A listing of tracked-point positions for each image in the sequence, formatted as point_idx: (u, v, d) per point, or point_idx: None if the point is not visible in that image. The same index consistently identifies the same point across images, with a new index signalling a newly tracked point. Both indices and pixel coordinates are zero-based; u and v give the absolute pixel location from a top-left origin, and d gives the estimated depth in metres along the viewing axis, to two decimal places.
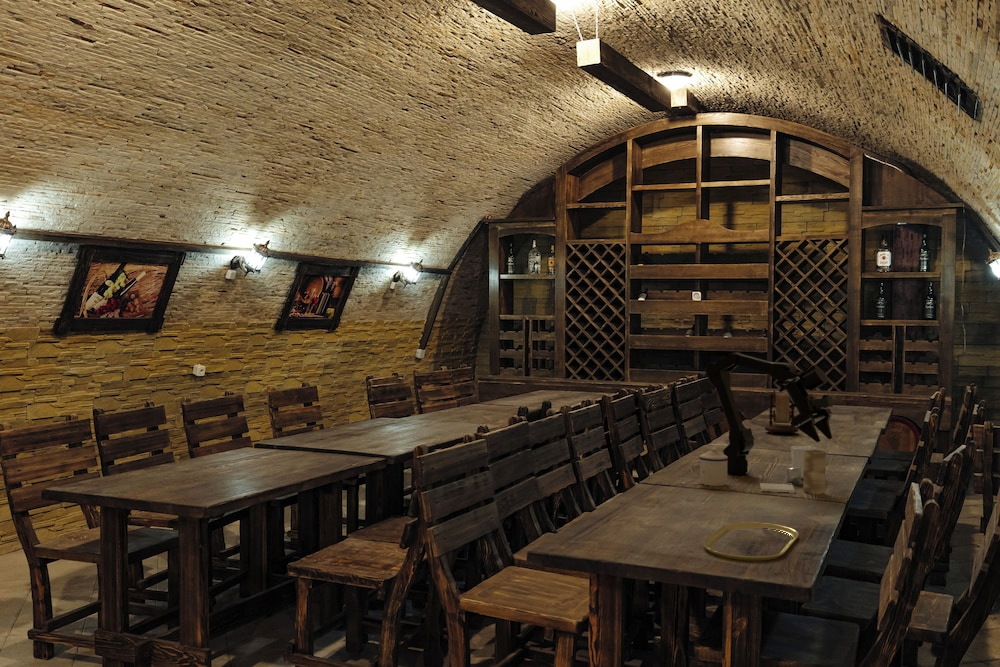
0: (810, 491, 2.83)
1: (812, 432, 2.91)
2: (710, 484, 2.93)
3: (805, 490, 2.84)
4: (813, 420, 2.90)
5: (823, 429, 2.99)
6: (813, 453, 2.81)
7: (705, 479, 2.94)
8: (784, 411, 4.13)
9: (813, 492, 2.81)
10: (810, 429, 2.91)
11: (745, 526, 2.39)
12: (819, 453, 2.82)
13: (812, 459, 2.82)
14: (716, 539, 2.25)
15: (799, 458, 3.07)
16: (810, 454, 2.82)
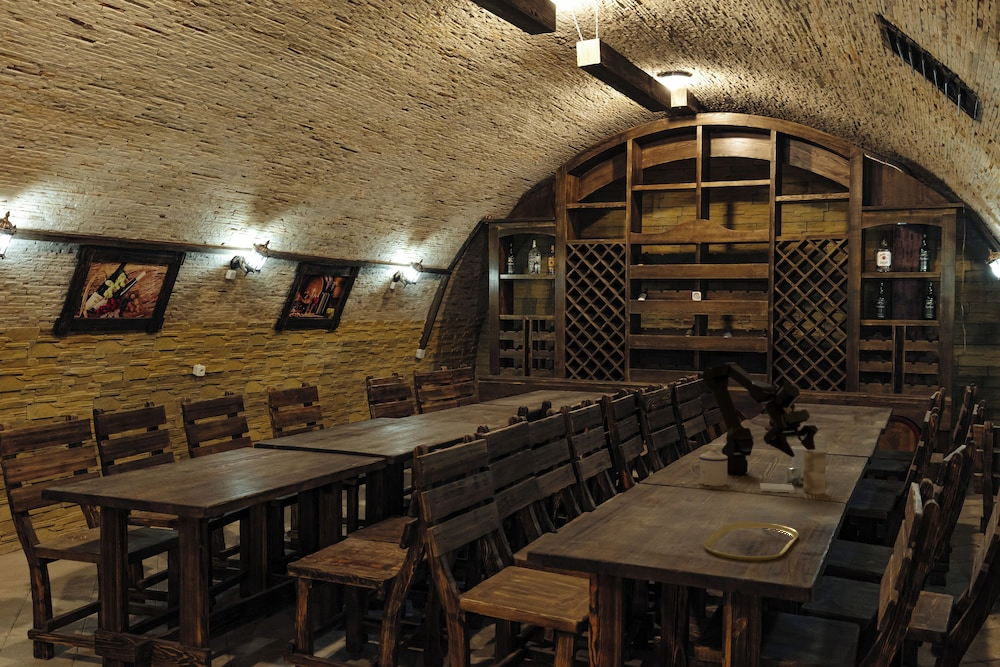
0: (810, 491, 2.83)
1: (785, 447, 2.87)
2: (710, 484, 2.93)
3: (805, 490, 2.84)
4: (783, 435, 2.87)
5: (808, 446, 2.93)
6: (813, 453, 2.81)
7: (705, 479, 2.94)
8: None
9: (813, 492, 2.81)
10: (783, 445, 2.88)
11: (745, 526, 2.39)
12: (819, 453, 2.82)
13: (812, 459, 2.82)
14: (716, 539, 2.25)
15: (799, 458, 3.07)
16: (810, 454, 2.82)
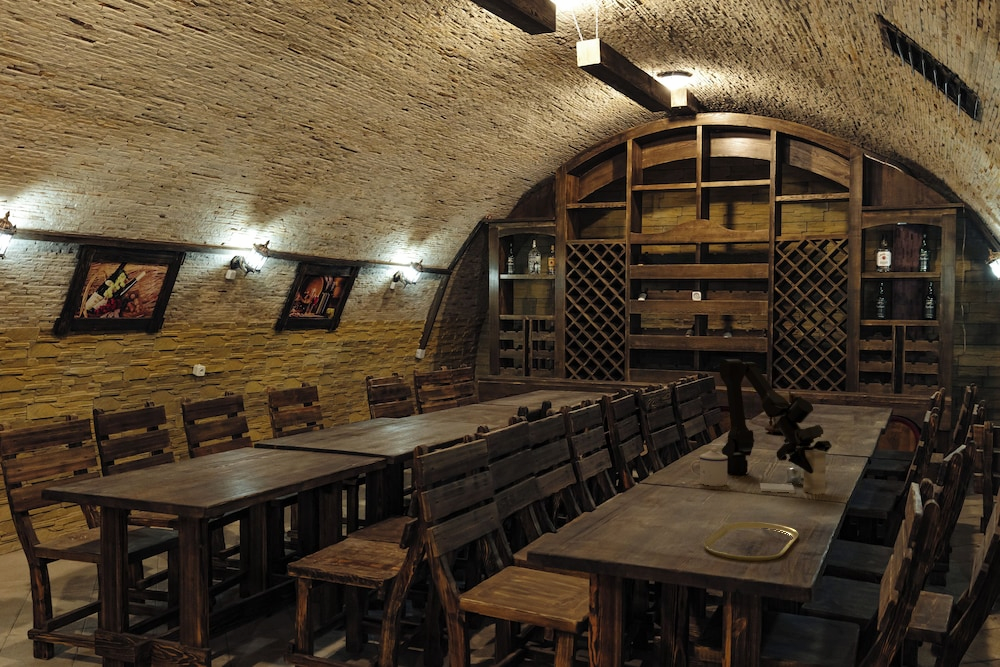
0: (810, 491, 2.83)
1: (804, 463, 2.83)
2: (710, 484, 2.93)
3: (805, 490, 2.84)
4: (802, 451, 2.83)
5: None
6: (813, 453, 2.81)
7: (705, 479, 2.94)
8: None
9: (813, 492, 2.81)
10: (802, 461, 2.84)
11: (745, 526, 2.39)
12: (819, 453, 2.82)
13: (812, 459, 2.82)
14: (716, 539, 2.25)
15: None
16: (810, 454, 2.82)
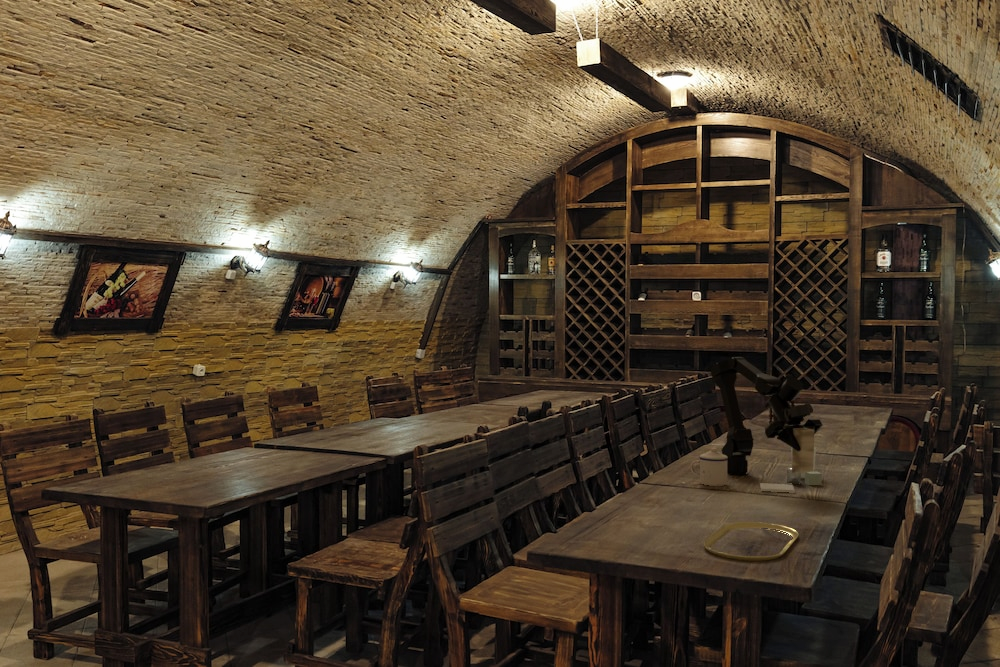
0: (798, 469, 2.84)
1: (792, 441, 2.84)
2: (710, 484, 2.93)
3: (793, 468, 2.86)
4: (790, 429, 2.84)
5: None
6: (801, 431, 2.82)
7: (705, 479, 2.94)
8: None
9: (800, 470, 2.83)
10: (790, 438, 2.85)
11: (745, 526, 2.39)
12: (807, 431, 2.82)
13: (800, 437, 2.83)
14: (716, 539, 2.25)
15: None
16: (798, 432, 2.83)
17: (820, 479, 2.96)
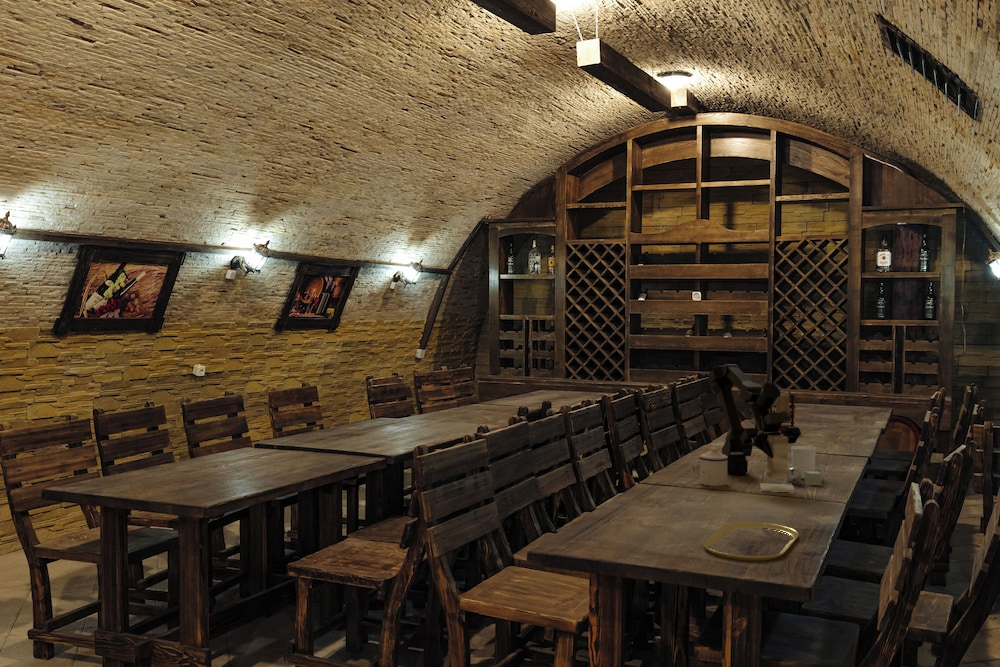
0: (771, 475, 2.87)
1: (765, 448, 2.88)
2: (710, 484, 2.93)
3: (768, 474, 2.89)
4: (764, 436, 2.88)
5: None
6: (773, 438, 2.86)
7: (705, 479, 2.94)
8: None
9: (773, 476, 2.86)
10: (764, 445, 2.89)
11: (745, 526, 2.39)
12: (780, 438, 2.85)
13: (772, 444, 2.86)
14: (716, 539, 2.26)
15: (799, 458, 3.07)
16: (771, 439, 2.87)
17: (820, 479, 2.96)
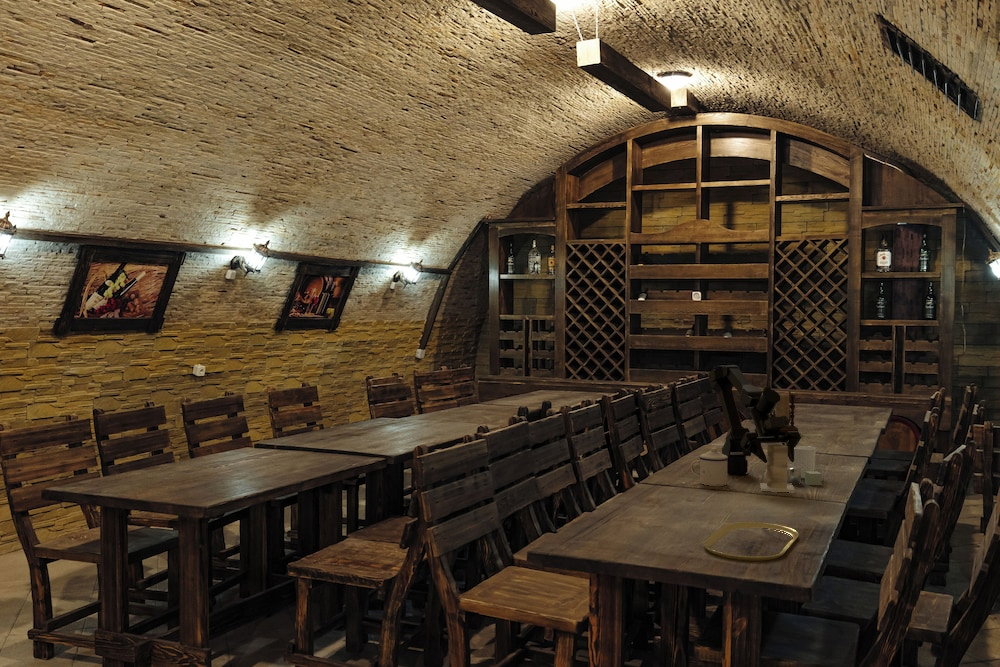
0: (771, 485, 2.87)
1: (759, 453, 2.88)
2: (710, 484, 2.93)
3: (768, 484, 2.89)
4: (757, 440, 2.88)
5: (788, 452, 2.90)
6: (773, 447, 2.86)
7: (705, 479, 2.94)
8: (784, 411, 4.13)
9: (773, 486, 2.86)
10: (758, 450, 2.88)
11: (745, 526, 2.39)
12: (780, 447, 2.85)
13: (772, 453, 2.86)
14: (716, 539, 2.26)
15: (799, 458, 3.07)
16: (771, 448, 2.87)
17: (820, 479, 2.96)
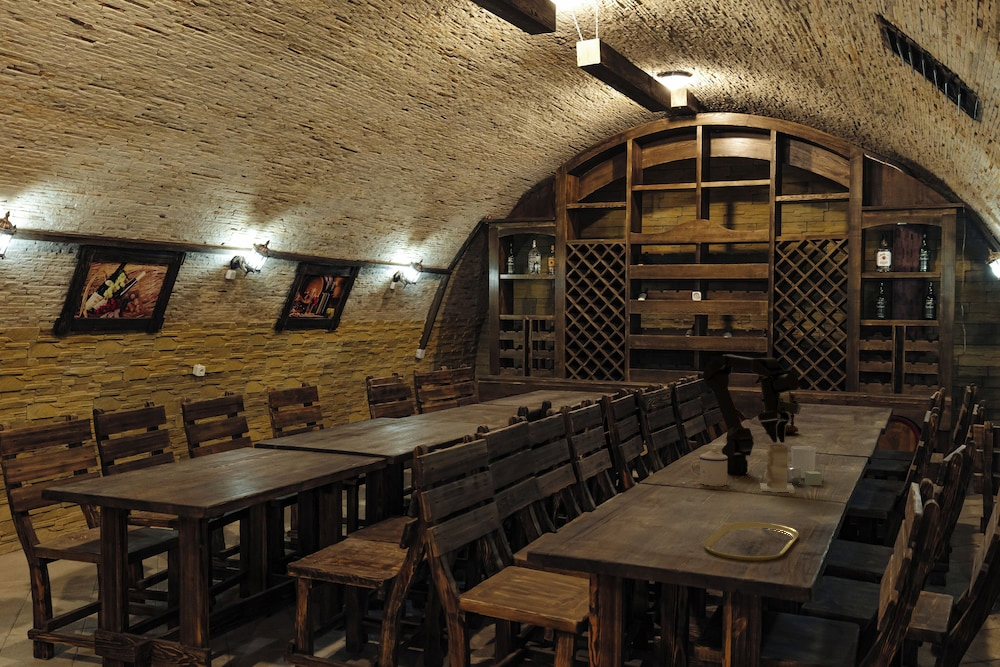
0: (771, 485, 2.87)
1: (773, 432, 2.94)
2: (710, 484, 2.93)
3: (768, 484, 2.89)
4: (779, 421, 2.93)
5: (779, 431, 3.03)
6: (773, 447, 2.86)
7: (705, 479, 2.94)
8: None
9: (773, 486, 2.86)
10: (772, 428, 2.94)
11: (745, 526, 2.39)
12: (780, 447, 2.85)
13: (772, 453, 2.86)
14: (716, 539, 2.26)
15: (799, 458, 3.07)
16: (771, 448, 2.87)
17: (820, 479, 2.96)
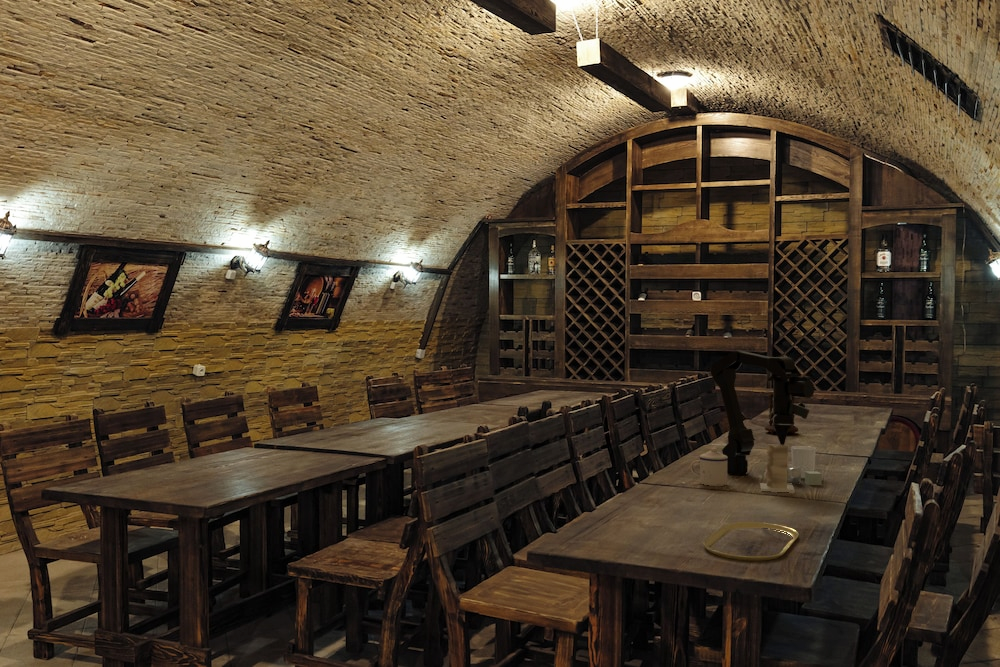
0: (771, 485, 2.87)
1: (783, 434, 2.95)
2: (710, 484, 2.93)
3: (768, 484, 2.89)
4: (791, 425, 2.94)
5: None
6: (773, 447, 2.86)
7: (705, 479, 2.94)
8: None
9: (773, 486, 2.86)
10: (783, 431, 2.95)
11: (745, 526, 2.39)
12: (780, 447, 2.85)
13: (772, 453, 2.86)
14: (716, 539, 2.26)
15: (799, 458, 3.07)
16: (771, 448, 2.87)
17: (820, 479, 2.96)
